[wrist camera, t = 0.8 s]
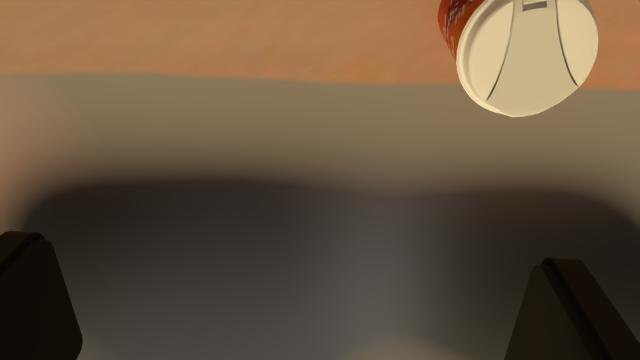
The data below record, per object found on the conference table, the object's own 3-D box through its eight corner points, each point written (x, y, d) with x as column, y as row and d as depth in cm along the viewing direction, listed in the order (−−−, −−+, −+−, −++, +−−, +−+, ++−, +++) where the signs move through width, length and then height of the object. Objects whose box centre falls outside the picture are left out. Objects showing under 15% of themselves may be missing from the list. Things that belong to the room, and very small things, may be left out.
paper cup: (421, -30, 36) (458, -4, 24) (523, -49, 35) (617, -33, 23) (427, 68, 40) (463, 134, 28) (520, 53, 39) (600, 114, 27)
